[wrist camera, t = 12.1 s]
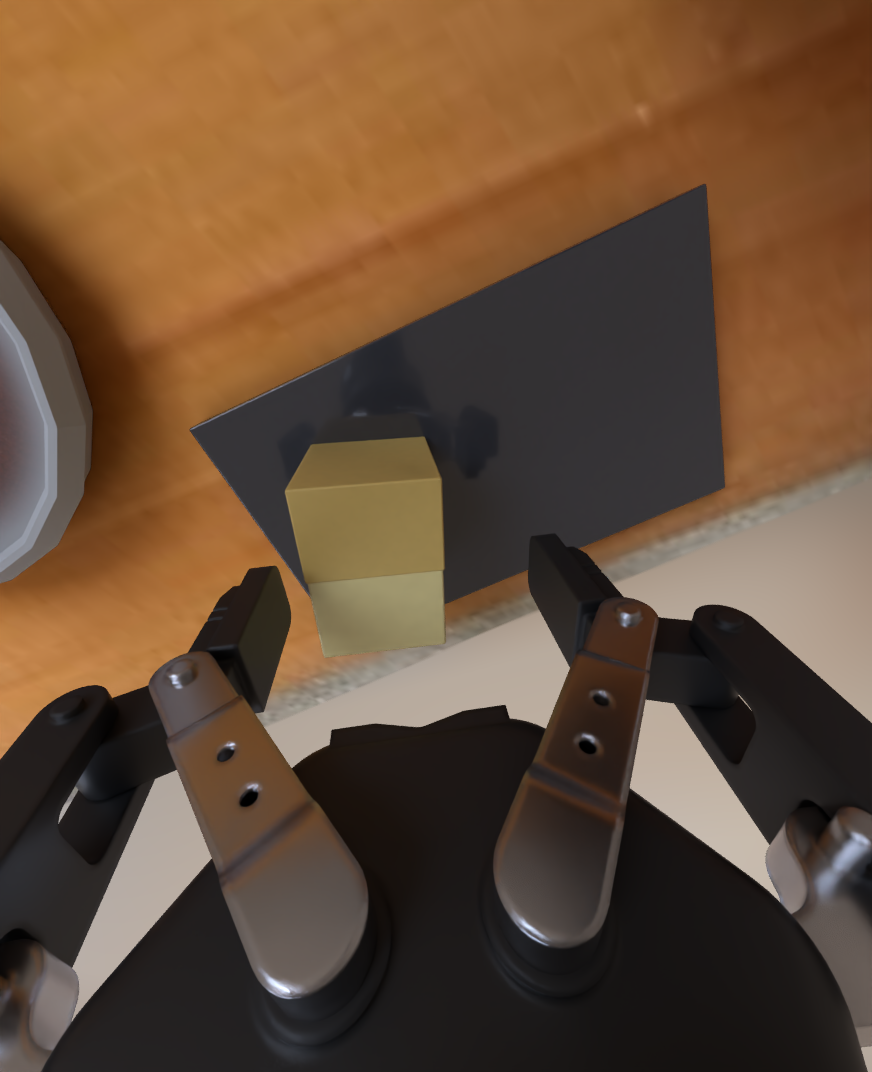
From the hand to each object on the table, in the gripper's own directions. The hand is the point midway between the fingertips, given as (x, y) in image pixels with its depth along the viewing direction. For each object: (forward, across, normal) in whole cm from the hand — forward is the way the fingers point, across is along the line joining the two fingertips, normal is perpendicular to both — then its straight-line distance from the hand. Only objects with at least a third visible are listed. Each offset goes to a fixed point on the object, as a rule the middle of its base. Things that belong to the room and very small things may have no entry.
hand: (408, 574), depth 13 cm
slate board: (+6, -4, -2) cm, 8 cm away
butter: (+5, +1, 0) cm, 5 cm away
